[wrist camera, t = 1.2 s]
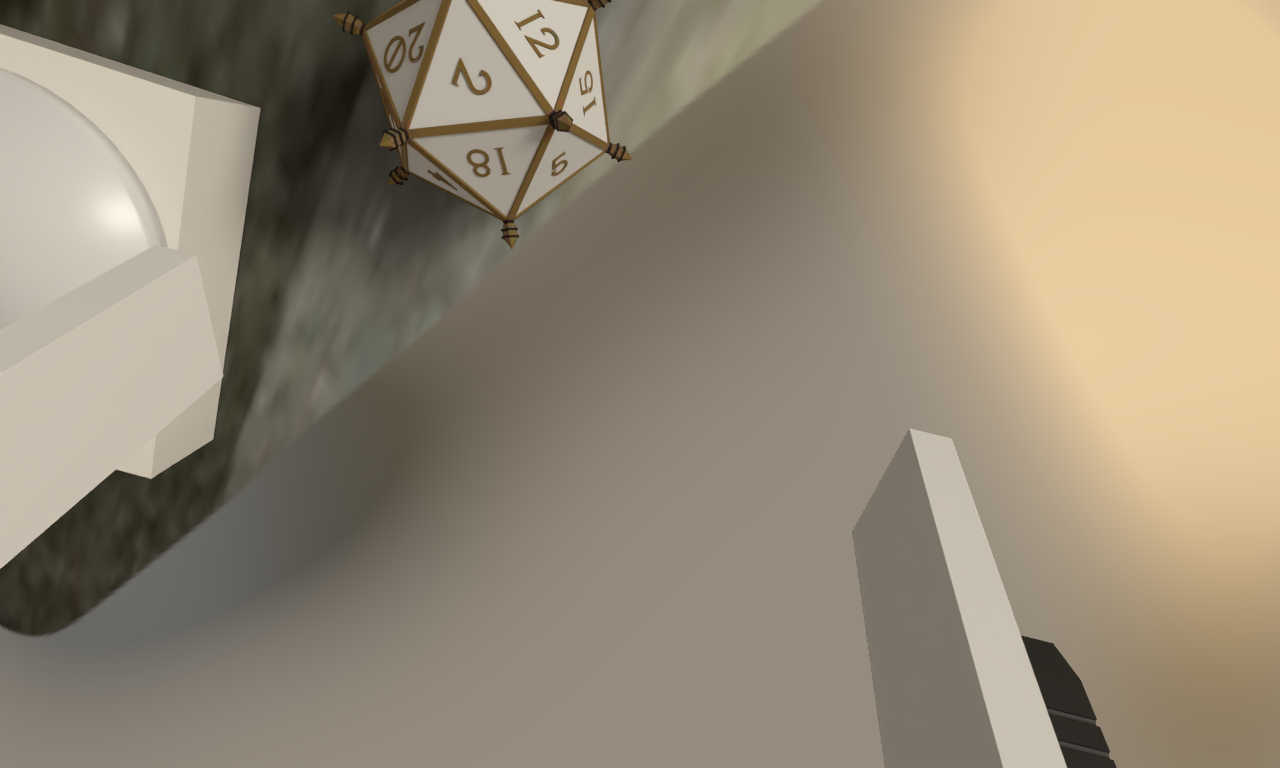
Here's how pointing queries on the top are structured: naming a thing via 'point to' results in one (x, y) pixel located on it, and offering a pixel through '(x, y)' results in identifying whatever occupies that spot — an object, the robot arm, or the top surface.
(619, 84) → the top surface
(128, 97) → the kitchen scale
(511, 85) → the game die
